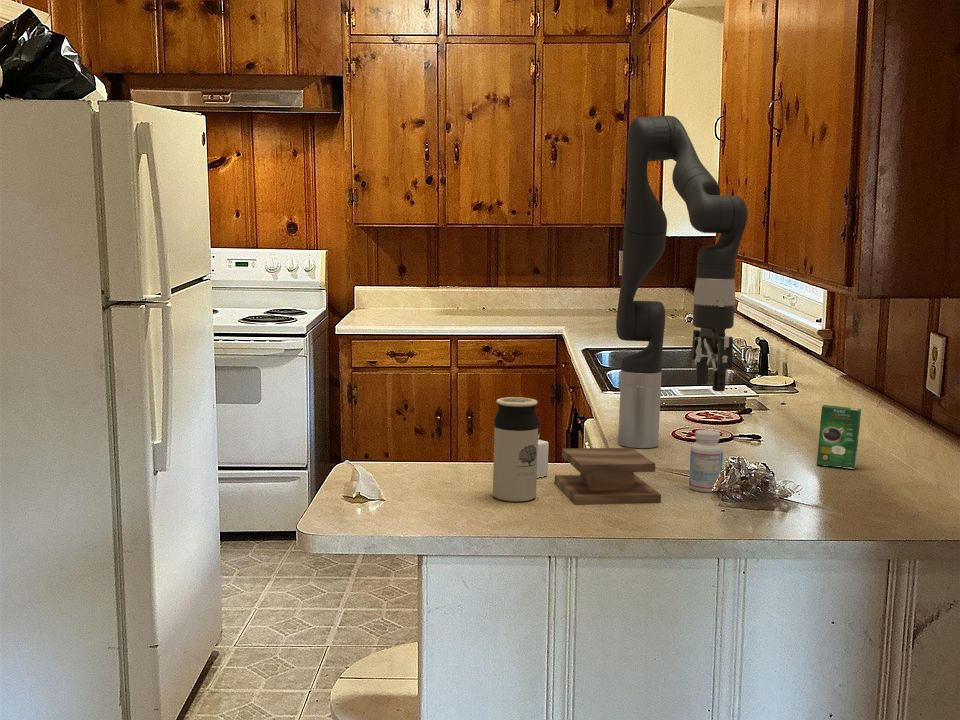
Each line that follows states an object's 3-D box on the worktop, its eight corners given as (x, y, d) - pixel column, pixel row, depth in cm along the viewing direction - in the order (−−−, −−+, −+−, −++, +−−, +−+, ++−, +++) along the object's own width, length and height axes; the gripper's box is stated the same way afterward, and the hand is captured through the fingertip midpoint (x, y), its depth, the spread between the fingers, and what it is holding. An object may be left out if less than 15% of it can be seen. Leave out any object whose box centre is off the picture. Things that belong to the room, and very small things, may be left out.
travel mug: (485, 493, 193) (488, 397, 190) (524, 490, 196) (527, 396, 194) (503, 504, 185) (506, 405, 183) (543, 500, 189) (546, 402, 186)
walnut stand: (554, 482, 202) (555, 447, 201) (633, 481, 205) (635, 446, 204) (575, 504, 186) (576, 466, 186) (660, 502, 189) (662, 464, 188)
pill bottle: (697, 483, 204) (700, 427, 203) (726, 489, 200) (729, 431, 199) (682, 489, 199) (685, 431, 198) (711, 494, 196) (715, 436, 194)
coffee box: (857, 468, 221) (862, 407, 219) (855, 470, 218) (860, 409, 217) (818, 463, 225) (822, 403, 223) (816, 466, 222) (820, 405, 220)
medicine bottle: (522, 470, 212) (523, 412, 211) (548, 476, 207) (550, 417, 206) (497, 475, 207) (499, 416, 206) (523, 482, 202) (525, 421, 201)
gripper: (681, 299, 202) (677, 382, 204) (709, 304, 188) (705, 393, 190) (718, 300, 203) (714, 382, 205) (748, 305, 189) (743, 393, 191)
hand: (709, 387), depth 197 cm, fingers open, 8 cm apart
